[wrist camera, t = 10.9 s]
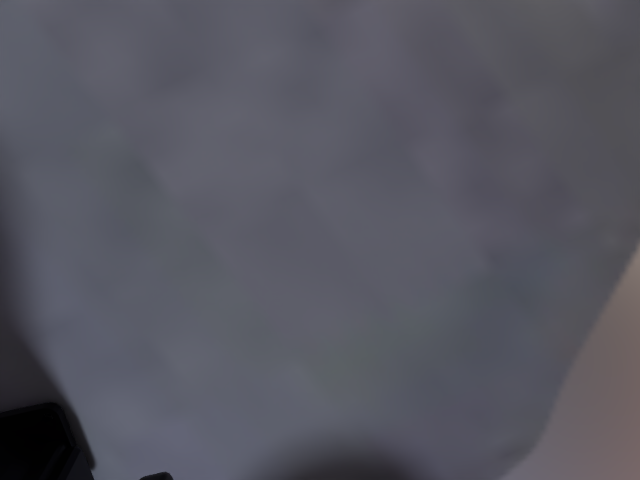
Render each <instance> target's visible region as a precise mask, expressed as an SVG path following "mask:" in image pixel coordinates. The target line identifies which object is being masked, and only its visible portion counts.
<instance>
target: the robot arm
mask: <svg viewBox="0 0 640 480" xmlns="http://www.w3.org/2000/svg"><path fill="white" fill-rule="evenodd" d="M44 414H50V415H52V417H53V418H47V417H46V416H45V415H44ZM0 480H94V478H93V475H92V473H91V470H90V468H89V465H88V463H87V460H86V458H85V455H84V453H83V451H82V449H80V448H79V447H78V446H77V444H76V442H75V439H74V437H73V434H72V432H71V430H70V427H69V425H68V422H67V420H66V417H65V415H64V412H63V410H62V408H61V407H60V406H59V405H57V404H55V403H52V402H50V403H43V404H38V405H34V406H29V407H25V408H20V409H16V410H11V411H7V412H2V413H0ZM140 480H173V478H172V476H171V475H170V474H169V473H167V472H162V473H157V474H153V475H148V476H145V477H142V478H141V479H140Z"/></svg>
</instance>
